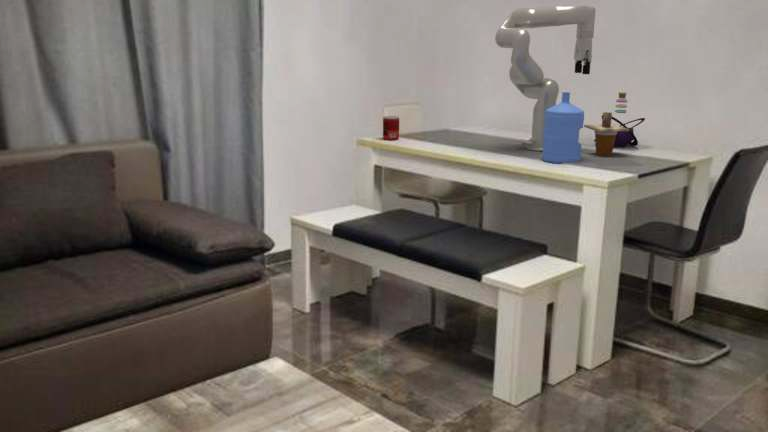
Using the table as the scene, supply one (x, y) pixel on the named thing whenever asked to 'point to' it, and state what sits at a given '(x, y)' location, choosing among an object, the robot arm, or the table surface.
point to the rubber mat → (615, 162)
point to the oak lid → (606, 124)
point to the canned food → (390, 128)
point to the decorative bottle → (624, 136)
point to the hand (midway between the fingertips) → (581, 73)
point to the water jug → (562, 132)
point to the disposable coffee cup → (605, 142)
